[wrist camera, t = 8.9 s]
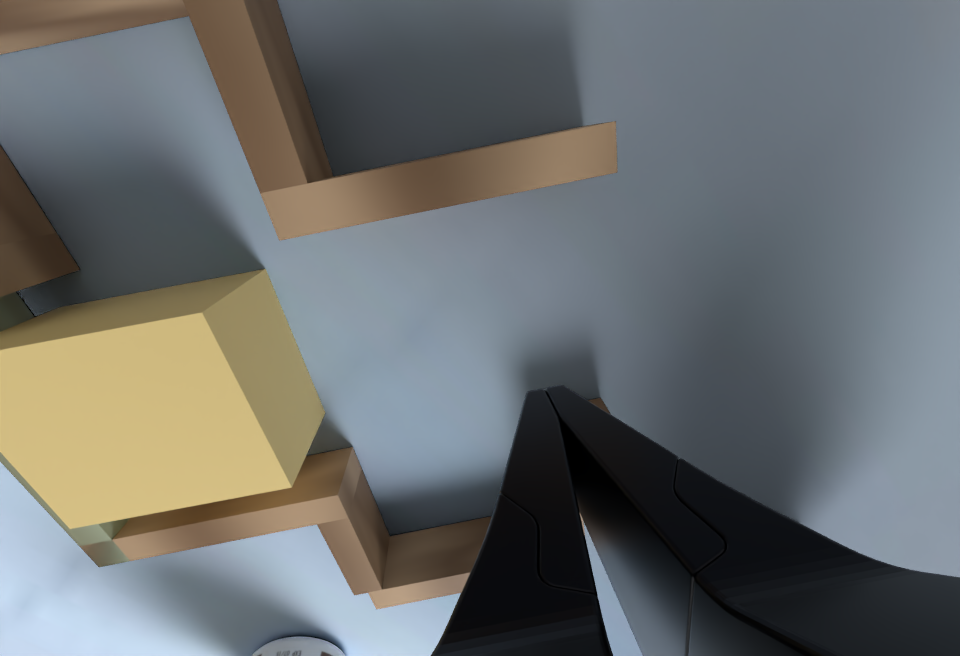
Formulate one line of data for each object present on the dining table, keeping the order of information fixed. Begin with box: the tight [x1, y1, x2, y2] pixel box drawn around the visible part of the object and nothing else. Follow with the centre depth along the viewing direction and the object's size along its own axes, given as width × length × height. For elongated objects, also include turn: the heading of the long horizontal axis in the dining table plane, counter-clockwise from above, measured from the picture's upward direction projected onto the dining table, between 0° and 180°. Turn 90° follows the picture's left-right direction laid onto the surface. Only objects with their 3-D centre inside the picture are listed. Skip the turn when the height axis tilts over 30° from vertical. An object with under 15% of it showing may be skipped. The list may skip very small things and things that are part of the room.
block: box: [0, 269, 325, 529], centre depth 13 cm, size 7×6×4 cm
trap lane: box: [0, 0, 617, 609], centre depth 13 cm, size 20×23×2 cm
